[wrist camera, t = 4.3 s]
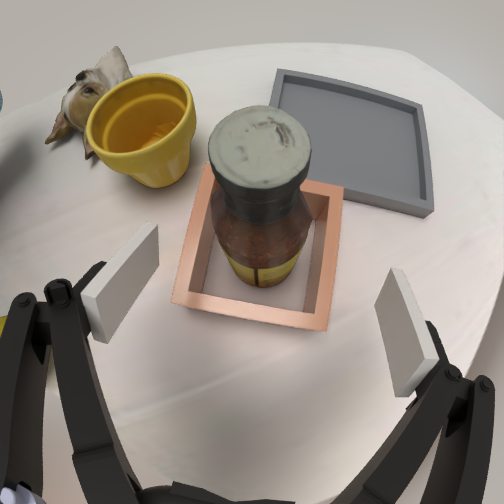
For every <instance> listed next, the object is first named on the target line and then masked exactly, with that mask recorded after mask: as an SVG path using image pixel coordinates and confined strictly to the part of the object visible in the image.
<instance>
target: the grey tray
mask: <svg viewBox="0 0 504 504" xmlns="http://www.w3.org/2000/svg"><path fill="white" fill-rule="evenodd" d="M269 106H270V107H274V108H276V109H280V110H283V111H285V112H286V113H288V114H290V115H291V116H293V117H294V118H295V119H296V120H298V121H299V122H300V123H301V124H302V126H303V127H304V128H305V129H306V131H307V132H308V134H309V137H310V141H311V149H312V153H311V159H310V166H309V171H308V175H307V177H306V179H307V180H312V181H317V182H322V183H327V184H332V185H336V186H341V187H344V192H343V199H345V200H350V201H354V202H359V203H363V204H368V205H372V206H376V207H380V208H384V209H389V210H393V211H397V212H401V213H405V214H409V215H412V216H416V217H420V218H425V217H426V216H428V215H429V214H431V213H432V212H433V211H434V197H433V183H432V171H431V161H430V153H429V145H428V138H427V131H426V125H425V119H424V113H423V108H422V105H420V104H418V103H415V102H412V101H409V100H406V99H403V98H401V97H397V96H394V95H391V94H388V93H385V92H382V91H378V90H375V89H371V88H368V87H364V86H361V85H357V84H353V83H349V82H345V81H341V80H337V79H332V78H328V77H323V76H318V75H313V74H308V73H303V72H297V71H291V70H285V69H278V68H277V73H276V77H275V82H274V86H273V91H272V95H271V100H270V104H269Z"/></svg>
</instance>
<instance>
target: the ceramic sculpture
mask: <svg viewBox="0 0 504 504" xmlns="http://www.w3.org/2000/svg"><path fill="white" fill-rule="evenodd" d="M130 78H133V76H132V75H131V73H130V71H129V68H128V65H127V62H126V60H125V58H124V55H123V54H122V52H121V50H120V48H118V47H117V46H115V47H114V48H113V49H112V50H111V51H110V52H108V53H107V54H106V55H104V56H103V57H102V58H101V59H100V61H99V62H98V63H97V65H96V66H95V68H94V69H86V70H85V71H82V72H80V73H79V74H78V75H77V76H76V82H75V83H74V84H73V85H72V86H71V87H70V88H69V89H68V92H67V94H66V95H65V96H64V97H63V100H62V106H61V111H60V113H59V114H58V115H57V118H56V120H55V121H56V123H55V124H54V127H53V130H52V133H51V135H50V136H49V137H48V138H47V139H46V141H45V144H49V143H51V142H53V141H56V140H58V139H60V138H62V137H64V136H66V135H67V134H68V133H69V132H70V131H71V129H72V128H74V129H75V130H77V131H80V132H84V133H83V143H84V148H85V160H88V159H89V158H90V157H91V156H92V155H93V154H94V153H95V152H94V150H93V149H92V148H91V146H90V145H89V142H88V140H87V136H86V126H87V121H88V118H89V115H90V113H91V111H92V109H93V108H94V106H95V105H96V104H97V102H98V101H99V100H100V99H101V98H102V97H103V96H104V95H105V94H106V93H107V92H108V91H109V90H111V89H112V88H113V87H115V86H116V85H118V84H120V83H122V82H123V81H125V80H128V79H130Z"/></svg>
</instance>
